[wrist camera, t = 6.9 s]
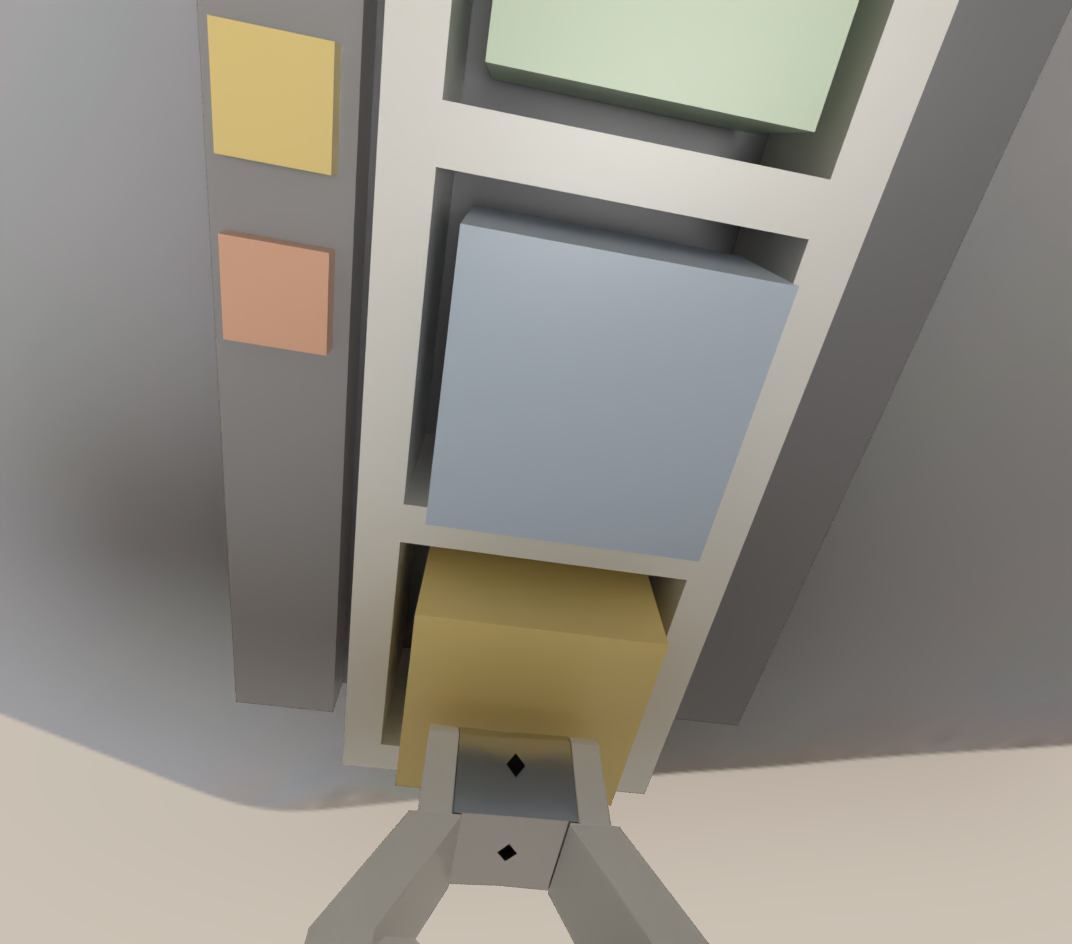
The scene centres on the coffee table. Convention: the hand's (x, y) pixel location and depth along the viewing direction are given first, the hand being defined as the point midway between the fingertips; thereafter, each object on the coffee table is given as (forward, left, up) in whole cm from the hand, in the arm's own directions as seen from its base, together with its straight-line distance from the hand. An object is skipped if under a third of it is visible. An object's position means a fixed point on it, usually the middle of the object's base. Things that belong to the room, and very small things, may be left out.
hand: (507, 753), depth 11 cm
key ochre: (0, 0, -3) cm, 3 cm away
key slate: (0, -6, -3) cm, 7 cm away
